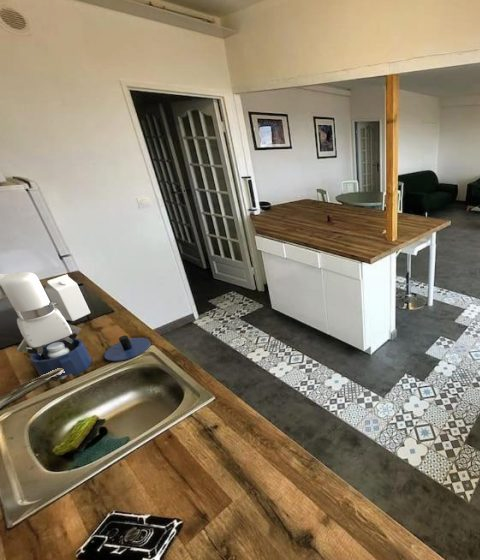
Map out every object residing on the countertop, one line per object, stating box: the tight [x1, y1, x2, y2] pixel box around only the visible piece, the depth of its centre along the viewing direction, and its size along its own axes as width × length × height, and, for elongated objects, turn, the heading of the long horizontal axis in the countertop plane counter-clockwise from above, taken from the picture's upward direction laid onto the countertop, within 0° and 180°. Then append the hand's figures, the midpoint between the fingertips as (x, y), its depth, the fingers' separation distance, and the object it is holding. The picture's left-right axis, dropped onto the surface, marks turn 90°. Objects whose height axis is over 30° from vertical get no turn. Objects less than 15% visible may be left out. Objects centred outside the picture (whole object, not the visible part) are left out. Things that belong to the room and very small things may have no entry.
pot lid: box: [103, 335, 151, 362], centre depth 115 cm, size 14×14×6 cm
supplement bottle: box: [47, 342, 70, 359], centre depth 105 cm, size 5×5×10 cm
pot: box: [28, 337, 93, 379], centre depth 105 cm, size 13×18×8 cm
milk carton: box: [44, 273, 91, 322], centre depth 133 cm, size 7×7×19 cm
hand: (60, 356), depth 105 cm, fingers closed on supplement bottle, 5 cm apart
